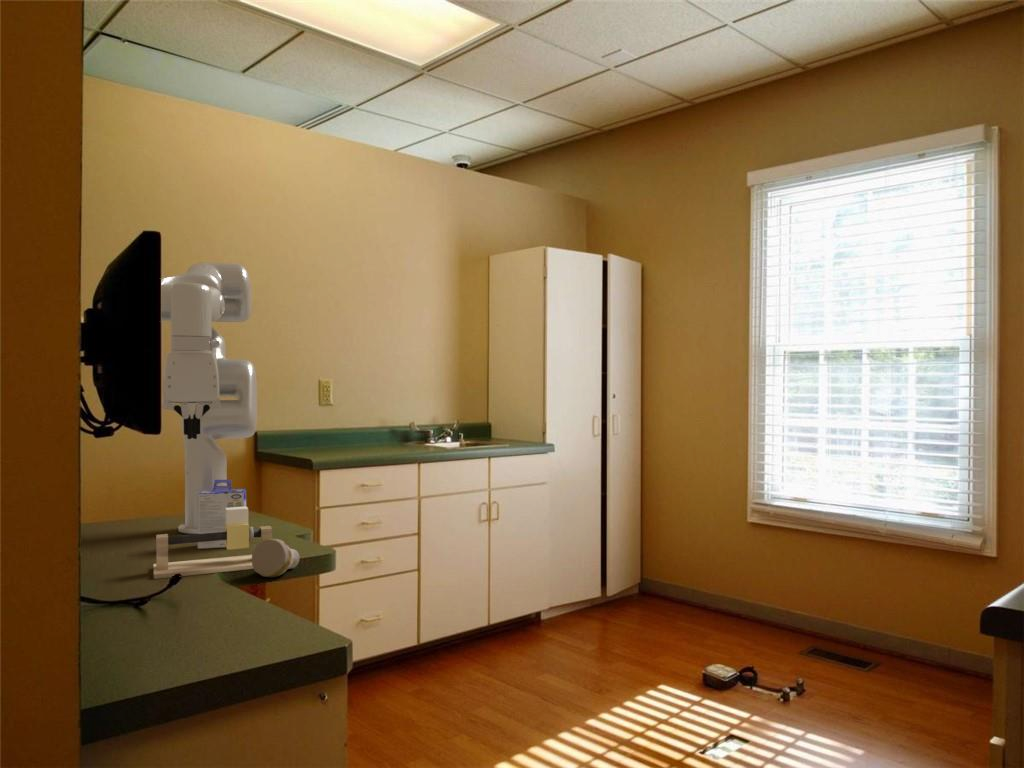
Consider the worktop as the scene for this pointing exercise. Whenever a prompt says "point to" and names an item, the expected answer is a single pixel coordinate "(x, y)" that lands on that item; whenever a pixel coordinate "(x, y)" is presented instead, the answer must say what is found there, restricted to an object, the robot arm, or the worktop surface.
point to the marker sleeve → (237, 527)
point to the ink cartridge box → (217, 510)
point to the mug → (273, 558)
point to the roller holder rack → (204, 565)
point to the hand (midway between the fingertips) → (192, 438)
